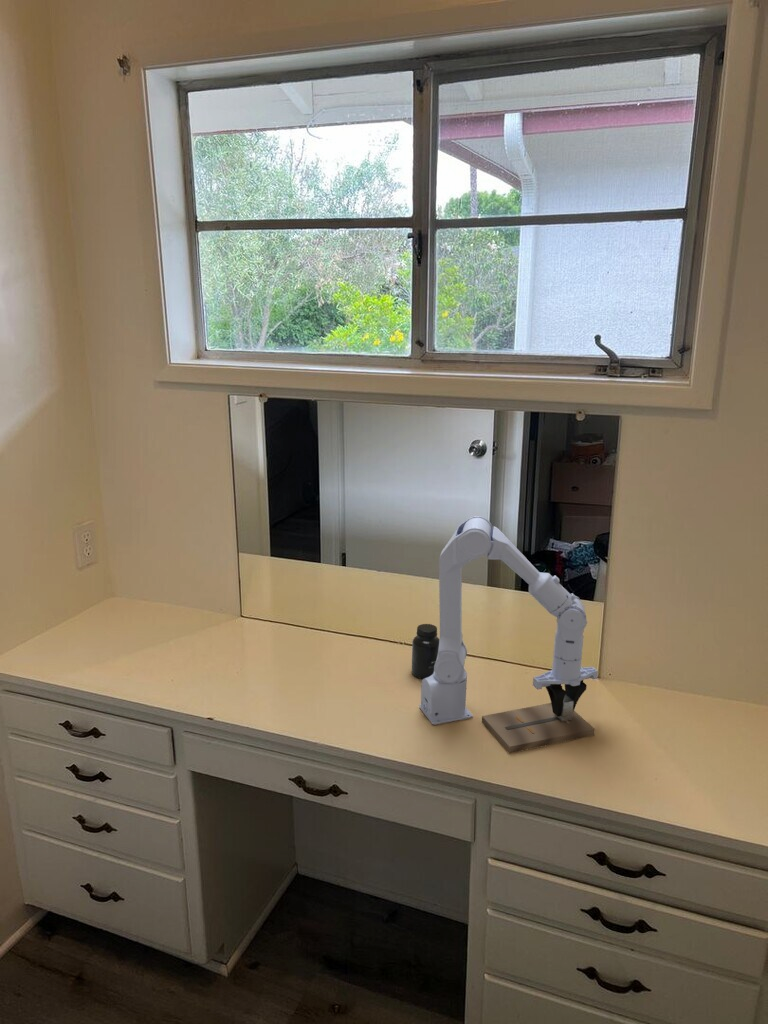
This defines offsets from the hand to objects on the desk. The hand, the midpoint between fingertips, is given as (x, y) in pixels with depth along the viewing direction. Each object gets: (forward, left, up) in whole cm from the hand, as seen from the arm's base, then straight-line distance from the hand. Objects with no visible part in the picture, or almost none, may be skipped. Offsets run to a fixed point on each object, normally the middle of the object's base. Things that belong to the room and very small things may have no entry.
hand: (562, 712), depth 158 cm
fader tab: (0, 0, -1) cm, 1 cm away
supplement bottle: (-19, +30, -3) cm, 36 cm away
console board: (-6, 0, -3) cm, 7 cm away
